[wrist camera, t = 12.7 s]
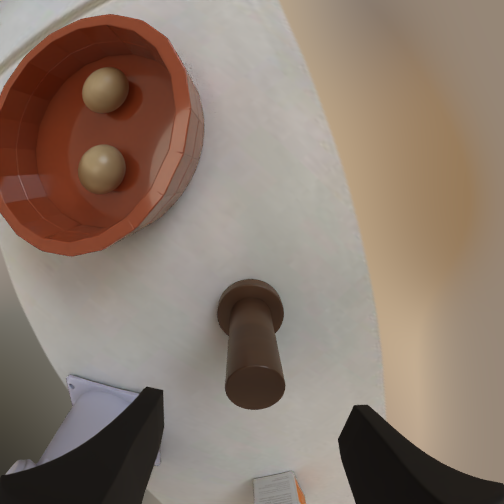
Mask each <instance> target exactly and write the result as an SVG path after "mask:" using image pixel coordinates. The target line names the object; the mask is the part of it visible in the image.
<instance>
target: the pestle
mask: <svg viewBox="0 0 504 504" xmlns="http://www.w3.org/2000/svg"><path fill="white" fill-rule="evenodd" d="M217 317H218V322H219V325H220V327H221V329H222V330H223V331H224V332H225V334H226V335H228V336H229V340H228V353H227V366H226V380H225V391H226V394H227V396H228V398H229V399H230V400H231V401H232V402H233V403H234V404H235V405H237V406H239V407H241V408H245V409H250V410H258V409H264V408H267V407H270V406H272V405H274V404H275V403H276V402H278V401H279V400H280V399H281V397H282V396H283V394H284V391H285V380H284V375H283V370H282V366H281V361H280V356H279V351H278V346H277V341H276V336H275V333H276V332H277V331H278V329H279V328H280V326H281V324H282V321H283V317H284V310H283V305H282V302H281V299H280V297H279V295H278V293H277V292H276V290H275V289H274V288H273V287H271V286H270V285H269V284H267V283H265V282H263V281H259V280H254V279H247V280H242V281H238V282H236V283H234V284H232V285H231V286H229V287H228V288H227V289H226V290H225V291H224V293H223V294H222V296H221V298H220V301H219V305H218V311H217Z"/></svg>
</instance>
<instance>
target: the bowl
mask: <svg viewBox="0 0 504 504" xmlns="http://www.w3.org/2000/svg"><path fill="white" fill-rule="evenodd" d="M104 67H113V68H117V69H119V70H121V71H122V72H123V73H124V74H125V76H126V77H127V79H128V82H129V92H128V95H127V98H126V100H125V101H124V103H123V104H122V105H121V106H120V107H119V108H117V109H116V110H114V111H112V112H109V113H96V112H93V111H91V110H90V109H89V108H88V107H87V106H86V105H85V103H84V101H83V98H82V89H83V85H84V83H85V81H86V79H87V78H88V77H89V76H90V75H91V74H92V73H93V72H94V71H96V70H98V69H100V68H104ZM203 137H204V117H203V111H202V105H201V102H200V96H199V93H198V91H197V89H196V87H195V86H194V84H193V82H192V80H191V78H190V76H189V74H188V72H187V70H186V68H185V67H184V65H183V63H182V61H181V60H180V58H179V56H178V54H177V53H176V51H175V49H174V47H173V46H172V44H171V42H170V41H169V39H168V38H167V37H165V36H164V35H163V34H161V33H160V32H159V31H157V30H156V29H154V28H153V27H152V26H150V25H149V24H147V23H146V22H144V21H142V20H139V19H134V18H129V17H124V16H119V15H114V14H108V15H101V16H95V17H89V18H83V19H80V20H77V21H75V22H73V23H71V24H69V25H67V26H65V27H63V28H61V29H59V30H57V31H55V32H53V33H51V34H50V35H48V36H47V37H46V38H45V39H44V40H42V41H41V42H40V43H39V44H38V45H37V46H36V47H34V48H33V49H32V50H31V51H30V52H29V53H28V54H27V55H26V56H25V57H24V58H23V60H22V61H21V62H20V64H19V65H18V66H17V68H16V69H15V71H14V72H13V74H12V75H11V76H10V78H9V79H8V81H7V82H6V84H5V86H4V88H3V90H2V92H1V95H0V213H1V214H2V215H3V217H4V218H5V220H6V221H7V222H8V224H9V225H10V226H11V228H12V229H13V230H14V232H15V233H16V234H17V235H18V236H19V237H21V238H22V239H24V240H25V241H27V242H28V243H30V244H32V245H33V246H35V247H36V248H38V249H39V250H41V251H44V252H49V253H54V254H59V255H65V256H77V255H82V254H86V253H91V252H96V251H101V250H104V249H106V248H108V247H110V246H111V245H113V244H115V243H117V242H119V241H121V240H122V239H124V238H126V237H128V236H130V235H132V234H134V233H136V232H137V231H139V230H141V229H142V228H144V227H146V226H147V225H149V224H151V223H152V222H154V221H156V220H157V219H159V218H160V217H162V216H163V215H164V213H165V212H166V211H168V210H169V209H170V208H171V207H172V206H173V205H174V203H175V202H176V201H177V200H178V199H179V197H180V196H181V195H182V193H183V192H184V190H185V189H186V187H187V186H188V184H189V182H190V180H191V178H192V176H193V174H194V172H195V170H196V167H197V164H198V161H199V159H200V155H201V150H202V146H203ZM103 144H105V145H110V146H113V147H115V148H116V149H118V150H119V151H120V152H121V154H122V155H123V157H124V160H125V164H126V171H125V176H124V178H123V180H122V182H121V184H120V185H119V186H118V187H117V188H116V189H115V190H113V191H111V192H109V193H106V194H94V193H91V192H89V191H88V190H86V189H85V188H84V187H83V185H82V184H81V182H80V180H79V176H78V166H79V162H80V160H81V158H82V156H83V155H84V154H85V152H86V151H88V150H89V149H90V148H92V147H94V146H97V145H103Z"/></svg>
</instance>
